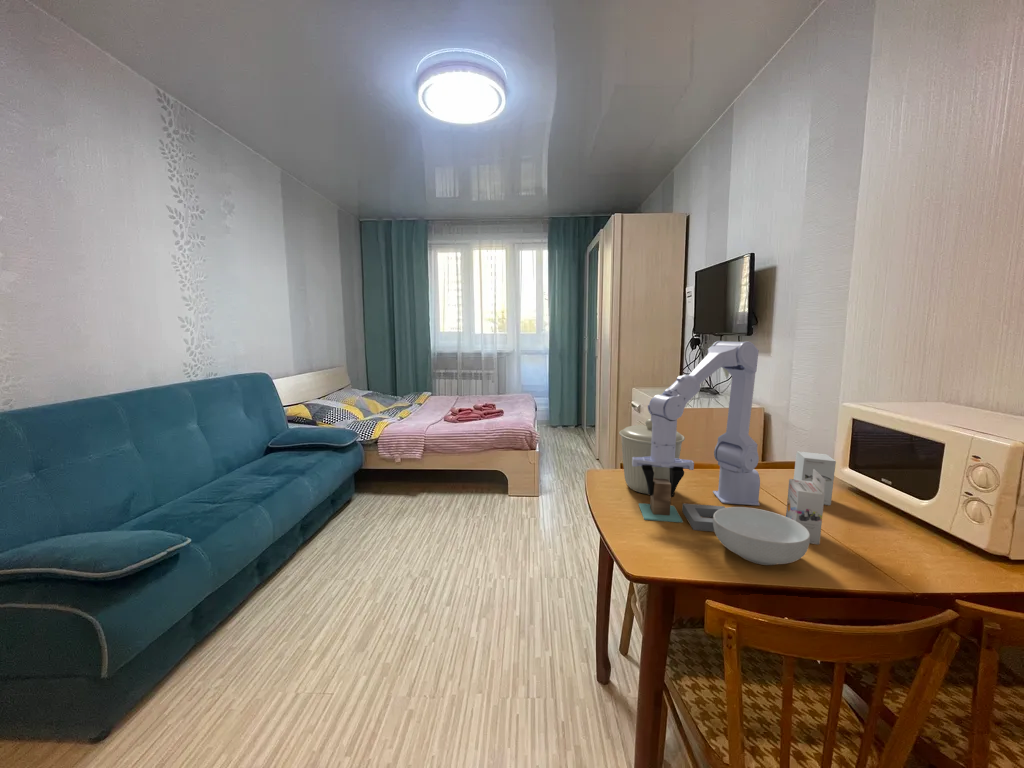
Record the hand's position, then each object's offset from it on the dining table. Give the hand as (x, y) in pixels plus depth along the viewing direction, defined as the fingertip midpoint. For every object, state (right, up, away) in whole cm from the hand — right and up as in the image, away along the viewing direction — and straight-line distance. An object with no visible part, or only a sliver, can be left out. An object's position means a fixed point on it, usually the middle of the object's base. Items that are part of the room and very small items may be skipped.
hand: (660, 494), depth 102 cm
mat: (0, -5, +1) cm, 5 cm away
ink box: (+29, -7, -10) cm, 31 cm away
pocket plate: (+10, -6, -4) cm, 12 cm away
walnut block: (0, -4, +1) cm, 4 cm away
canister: (+3, -3, +17) cm, 18 cm away
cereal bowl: (+13, -8, -18) cm, 24 cm away
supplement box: (+46, -4, +11) cm, 47 cm away
